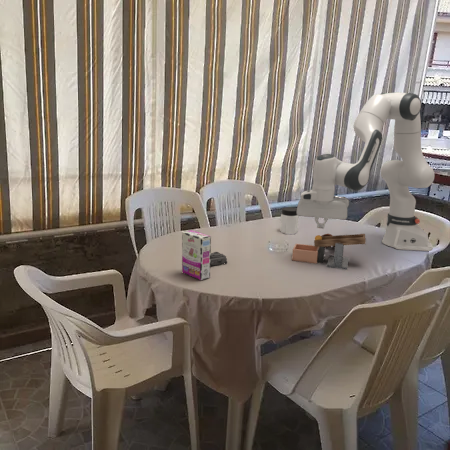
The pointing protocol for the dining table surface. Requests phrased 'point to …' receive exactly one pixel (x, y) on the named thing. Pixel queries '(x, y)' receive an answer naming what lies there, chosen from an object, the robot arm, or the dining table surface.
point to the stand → (334, 257)
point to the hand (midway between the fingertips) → (320, 227)
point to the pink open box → (305, 253)
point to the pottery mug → (328, 235)
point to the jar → (289, 221)
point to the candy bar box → (196, 254)
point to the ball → (318, 237)
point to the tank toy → (217, 259)
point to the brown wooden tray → (341, 240)
